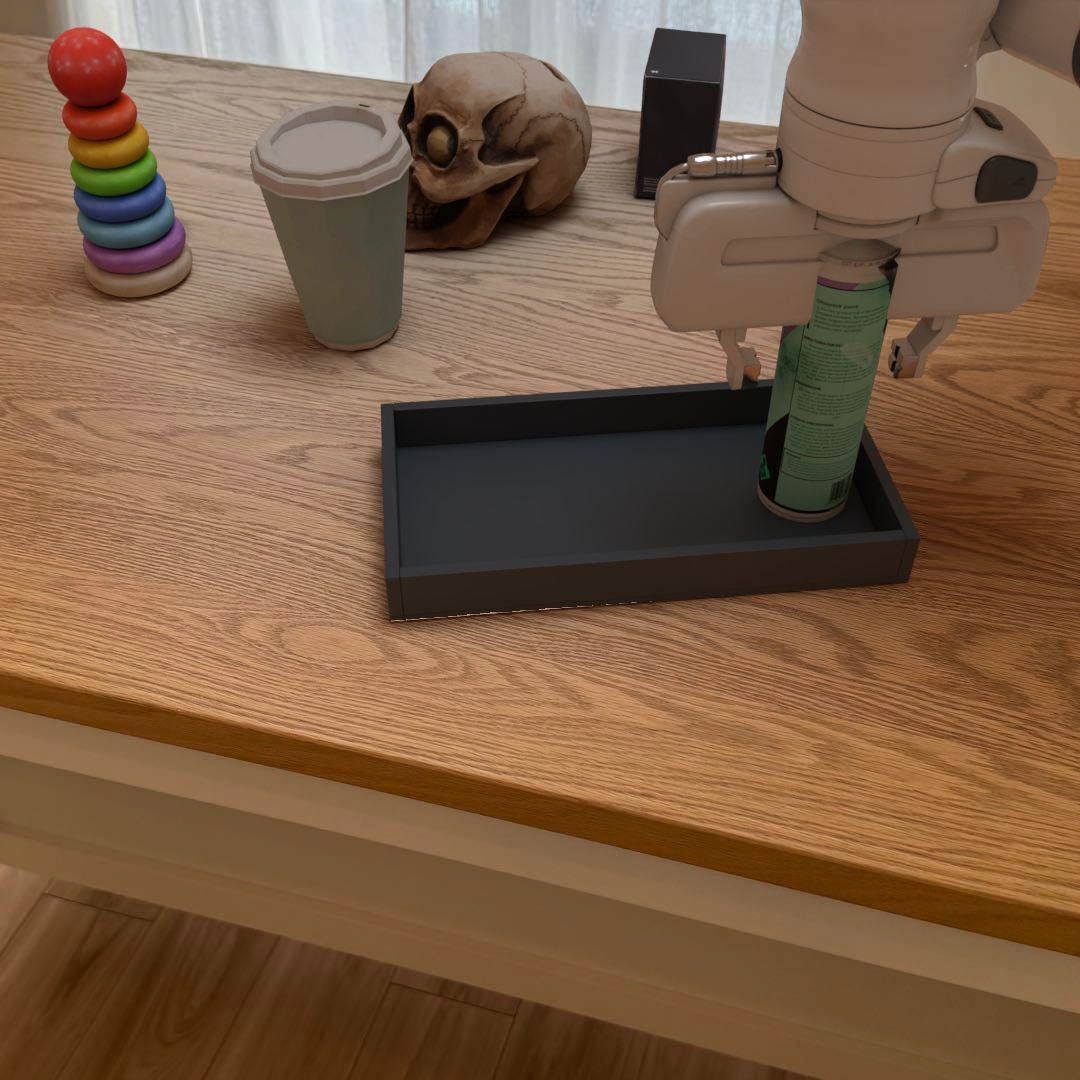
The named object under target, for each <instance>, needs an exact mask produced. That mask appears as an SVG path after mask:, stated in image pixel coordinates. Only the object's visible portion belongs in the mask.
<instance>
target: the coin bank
mask: <svg viewBox="0 0 1080 1080" xmlns="http://www.w3.org/2000/svg"><path fill="white" fill-rule="evenodd" d="M406 96H407V97H406V98H405V102H404V103H403V107H402V110H401V112H400V113H399V116H398V118H397V120H396V121H397V123H398V126H399V128H400V129H401V130H402V132H403V134H404V136H405V138H406V140H407V142H408V144H409V146H410V150H411V155H412V158H413V162H412V163H411V164H410V166H409V180H408V199H407V219H406V238H405V251H420V250H425V249H436V250H445V249H447V248H463V249H471V248H472V249H473V248H477V247H479V246H482V245H483V243H484V242H485V241H486V240H487V239H488V238H489V237H490V236H491V234H492V232H493V231H494V229H495V227H496V225H497V224H498V222H499V220H500V219H502V218H506V217H509V216H519V217H528V216H529V217H531V216H533V217H535V216H537V217H538V216H543V215H546V214H548V213H549V212H551V211H552V210H554V209H555V208H556V207H557V206H558V205H559V204H561V203H562V202H563V201H564V200H566V198H568V197H569V195H570V194H571V192H572V191H573V189H574V188H575V186H576V185H577V183H578V182H579V180H580V178H581V177H582V175H583V173H584V172H585V170H586V168H587V165H588V162H589V159H590V153H591V149H592V141H593V126H592V122H591V118H590V113H589V111H588V109H587V105H586V103H585V102H584V100H583V98H582V95H581V94H580V93H579V91H578V89H577V88H576V86H574V84H573V83H572V82H571V80H569V78H568V77H566V76H565V74H563V73H562V72H561V71H560V70H559V69H558V68H557V67H556V66H554V65H553V64H551V63H550V62H547V61H546V60H542V59H538V58H535V57H533V56H530V55H527V54H525V53H520V52H515V51H481V52H480V51H479V52H463V53H453V54H449V55H445V56H443V57H442V58H439V59H438V60H437V61H435V62H434V63H433V64H432V65H431V67H430V68H429V69H428V71H426V73H425V75H424V77H423V78H422V79H421V81H419V82H413V83H412V85H411V87H410V90H409V91H408V94H407V95H406Z"/></svg>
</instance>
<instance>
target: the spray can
mask: <svg viewBox="0 0 1080 1080" xmlns="http://www.w3.org/2000/svg"><path fill="white" fill-rule="evenodd" d="M900 252H901V248H899V249H898V250H896V249H895V248H894V247H893V246H892V245H890V244H888V243H886V242H884V241H881V240H878V239H852V240H849V241H846V242H843V243H840V244H838V245H836V246H834V247H832V248H830V249H829V250H827V251H826V252H825V253H818V258H819V259H820V260H822V261H824V262H825V264H824V265H823V266H822V267H821V268H820V269H819V271H818V277H817V284H816V290H815V297H814V303H813V310H812V316H811V318H810V320H809V322H808V324H806V325H793V326H781V327H782V328H781V333H780V340H779V346H778V352H777V359H776V365H775V370H774V377H773V379H774V383H773V389H772V396H771V402H770V408H769V414H768V421H767V427H766V433H765V439H764V446H763V452H762V458H761V464H760V471H759V477H758V488H757V492H758V496H759V498H760V500H761V501H762V503H763V504H764V505H765V506H766V507H767V508H768V509H769V510H770V511H772V512H773V513H775V514H777V515H779V516H780V517H783V518H786V519H788V520H793V521H797V522H820V521H824V520H827V519H830V518H832V517H834V516H836V515H837V514H839V513H840V512H841V511H842V510H843V508H844V506H845V504H846V501H847V498H848V494H849V490H850V485H851V481H852V476H853V472H854V468H855V463H856V459H857V454H858V450H859V446H860V441H861V437H862V432H863V428H864V424H866V419H867V415H868V411H869V410H868V409H869V405H870V402H871V401H870V400H871V398H872V392H873V388H874V384H875V379H876V374H877V371H878V367H879V362H880V356H881V353H882V350H883V349H882V348H883V344H884V341H885V335H886V332H887V331H886V330H887V326H888V324H889V323H888V322H889V320H887V313H888V308H889V304H890V299H891V295H892V291H893V286H894V282H895V278H896V274H897V269H898V263H897V262H896V261H895V258H896V257H897V256H898V255H899V254H900Z"/></svg>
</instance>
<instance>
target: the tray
mask: <svg viewBox="0 0 1080 1080" xmlns="http://www.w3.org/2000/svg"><path fill="white" fill-rule="evenodd" d="M758 381H759V384H758V387H757V388H752V389H736V390H731V389H730V386H729V383H728V381H715V382H702V383H701V382H700V383H699V382H698V383H683V384H682V383H681V384H669V385H653V386H638V387H637V386H636V387H621V388H606V389H605V388H604V389H592V390H591V389H589V390H575V391H574V390H573V391H560V392H559V391H557V392H544V393H543V392H542V393H541V392H540V393H528V394H526V393H525V394H512V395H498V396H496V395H495V396H482V397H469V398H468V397H467V398H449V399H435V400H434V399H433V400H432V399H431V400H421V401H420V400H419V401H418V400H417V401H402V402H388V403H380V434H381V435H380V437H381V438H380V439H381V474H382V476H381V477H382V478H381V479H382V480H381V481H382V506H383V507H382V513H383V514H382V515H383V551H384V552H383V554H384V556H383V557H384V558H383V559H384V581H385V591H386V598H387V607H388V615H389V622H390V621H391V620H406V619H419V618H434V617H448V616H457V615H467V614H480V613H490V612H512V611H520V610H539V609H545V608H562V607H577V606H592V605H593V606H598V607H602V606H601V605H606V604H612V605H611V606H615V605H614V604H619V603H631V602H637V603H636V604H640V603H639V602H649V603H658V602H657V601H662V602H669V601H668V600H671V601H672V602H673V601H685V599H687V600H696V599H695V598H700V599H706V598H705V597H710V598H709V599H712V598H711V597H713V598H722V597H721V596H726V597H736V596H735V595H739V596H748V595H749V594H751V595H762V594H763V595H764V594H775V593H776V592H777V593H789V592H801V590H803V591H813V590H814V589H815V590H826V589H827V590H829V589H840V588H855V587H865V586H878V585H879V586H880V585H890V584H902V583H903V584H904V583H909V581H910V577H911V574H912V570H913V567H914V563H915V560H916V557H917V555H918V554H917V553H918V550H919V546H920V543H921V540H922V537H921V535H920V533H919V531H918V529H917V527H916V525H915V523H914V520H913V519H912V517H911V514H910V512H909V510H908V509H907V506H906V504H905V503H904V500H903V498H902V497H901V494H900V492H899V489H898V488H897V486H896V484H895V482H894V480H893V477H892V475H891V474H890V472H889V470H888V468H887V465H886V464H885V461H884V459H883V457H882V455H881V453H880V451H879V449H878V447H877V445H876V443H875V440H874V439H873V437H872V435H871V432H870V430H869V429H868V427H867V424H866V423H865V424H864V428H863V432H862V437H861V441H860V446H859V450H858V454H857V459H856V463H855V468H854V472H853V476H852V481H851V485H850V490H849V494H848V498H847V501H846V504H845V506H844V508H843V510H842V511H841V512H840V513H839V514H837V515H836V516H834V517H832V518H830V519H827V520H824V521H820V522H797V521H793V520H788V519H786V518H783V517H780V516H779V515H777V514H775V513H773V512H772V511H770V510H769V509H768V508H767V507H766V506H765V505H764V504H763V503H762V501H761V500H760V498H759V496H758V492H757V488H758V477H759V471H760V464H761V458H762V452H763V446H764V439H765V433H766V427H767V421H768V414H769V408H770V402H771V396H772V389H773V383H774V378H762V379H761V378H760V379H758ZM715 596H716V597H715ZM679 599H680V600H679ZM650 601H652V602H650ZM671 601H670V602H671Z"/></svg>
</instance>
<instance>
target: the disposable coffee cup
mask: <svg viewBox="0 0 1080 1080" xmlns="http://www.w3.org/2000/svg"><path fill="white" fill-rule="evenodd" d="M397 121H398V120H397V119H396V116H395V114H394V113H393V112H392V111H389V110H387V109H384V108H382V107H380V106H377V105H375V104H371V103H368V102H367V103H366V102H363V101H362V102H361V101H351V100H339V99H338V100H337V99H334V100H329V101H324V102H319V103H314V104H309V105H306V106H301V107H298V108H296V109H294V110H292V111H290V112H288V113H287V114H284V115H283V116H280V117H279V118H276V119H275V120H273V121H271V122H270V123H269V124H268V125H267V127H266V128H265V129H264V131H263V132H262V133H261V134H260V135H259V137H258V138H257V139H256V141H255V145H254V146H253V147H252V148H251V150H250V151H249V155H250V164H249V166H250V170H251V174H252V178H253V182H254V184H256V185H257V186H258V187H259V189H260V191H261V194H262V197H263V200H264V204H265V206H266V208H267V211H268V214H269V217H270V221H271V223H272V226H273V229H274V232H275V235H276V238H277V241H278V243H279V246H280V249H281V252H282V255H283V258H284V260H285V263H286V266H287V269H288V272H289V275H290V278H291V281H292V284H293V287H294V290H295V293H296V295H297V298H298V299H297V300H298V301H299V304H300V307H301V310H302V313H303V316H304V319H305V321H306V324H307V328H308V330H309V333H311V334H312V335H313V337H314V339H315V341H317V342H318V343H320V344H322V345H323V346H324V347H327V348H328V349H331V350H338V351H346V352H355V351H361V350H366V349H372V348H375V347H377V346H379V345H381V344H382V343H384V342H387V341H388V340H390V339H391V338H392V337H393V335H394V334H395V332H396V330H397V329H398V327H399V321H400V320H401V318H402V315H403V314H402V313H403V311H402V310H403V295H404V294H403V292H404V278H405V277H404V275H405V258H406V257H405V256H406V255H405V253H406V250H405V238H406V219H407V199H408V180H409V166H410V164H411V163H412V162H413V158H412V155H411V150H410V146H409V144H408V142H407V140H406V138H405V136H404V134H403V132H402V130H401V129H400V128H399V126H398V123H397Z"/></svg>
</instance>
